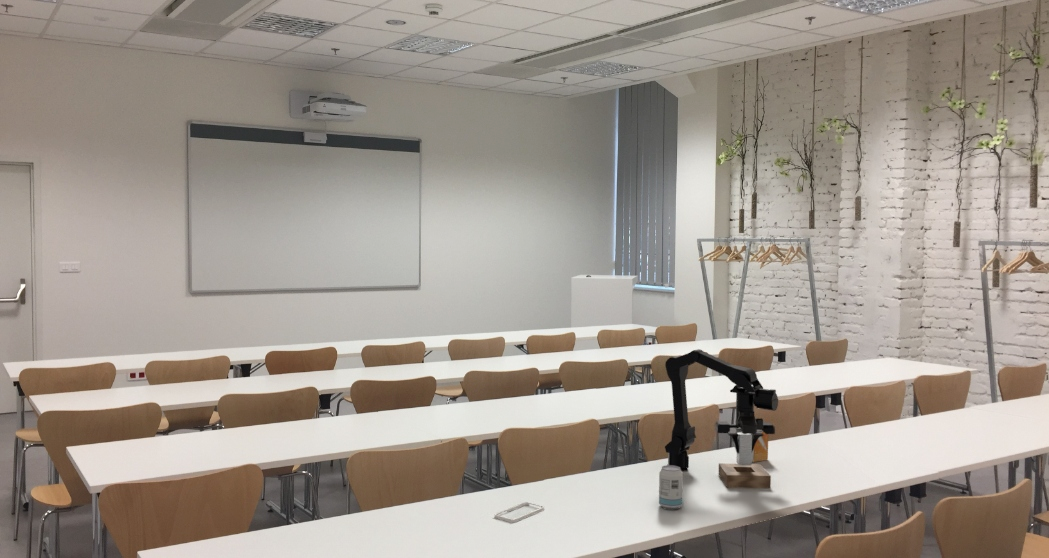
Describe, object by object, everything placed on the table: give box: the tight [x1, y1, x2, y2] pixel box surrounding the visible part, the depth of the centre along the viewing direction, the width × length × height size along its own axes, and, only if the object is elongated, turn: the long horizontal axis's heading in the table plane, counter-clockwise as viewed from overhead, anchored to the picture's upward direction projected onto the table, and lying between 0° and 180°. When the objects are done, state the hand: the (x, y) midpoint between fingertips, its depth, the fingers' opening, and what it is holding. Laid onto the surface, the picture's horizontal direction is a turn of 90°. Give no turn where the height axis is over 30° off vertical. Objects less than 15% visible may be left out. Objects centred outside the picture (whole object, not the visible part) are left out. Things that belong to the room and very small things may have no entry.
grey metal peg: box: [736, 432, 752, 466], centre depth 270 cm, size 4×4×10 cm
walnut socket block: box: [718, 462, 772, 489], centre depth 270 cm, size 14×14×4 cm
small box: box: [740, 431, 769, 463], centre depth 297 cm, size 8×6×13 cm
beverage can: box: [658, 465, 684, 511], centre depth 243 cm, size 7×7×12 cm
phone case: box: [494, 501, 545, 523], centre depth 237 cm, size 7×1×15 cm
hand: (744, 453), depth 270 cm, fingers closed on grey metal peg, 4 cm apart
